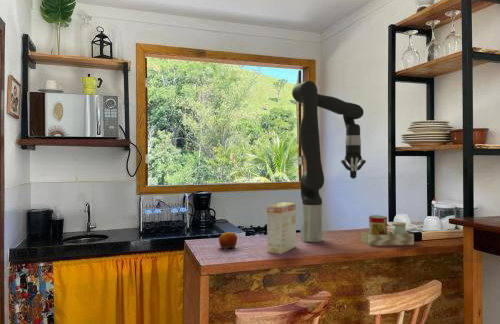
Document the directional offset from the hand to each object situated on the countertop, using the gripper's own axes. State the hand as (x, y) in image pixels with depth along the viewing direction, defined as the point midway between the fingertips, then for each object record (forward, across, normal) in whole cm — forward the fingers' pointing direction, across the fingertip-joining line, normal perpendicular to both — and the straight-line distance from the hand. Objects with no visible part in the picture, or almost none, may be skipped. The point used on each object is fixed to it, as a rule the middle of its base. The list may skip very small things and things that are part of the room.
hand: (353, 178), depth 189 cm
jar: (+29, +15, -20) cm, 38 cm away
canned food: (+29, +5, -19) cm, 35 cm away
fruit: (+29, -64, -24) cm, 74 cm away
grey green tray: (+29, +9, -20) cm, 36 cm away
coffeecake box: (+29, -41, -29) cm, 58 cm away
